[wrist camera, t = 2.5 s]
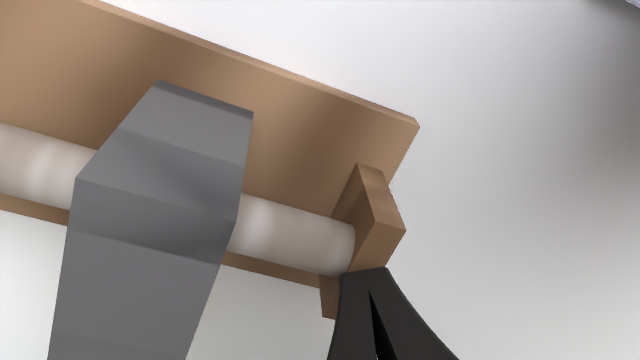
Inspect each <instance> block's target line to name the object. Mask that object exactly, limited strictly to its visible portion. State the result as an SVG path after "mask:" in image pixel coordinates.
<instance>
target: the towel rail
mask: <svg viewBox="0 0 640 360" xmlns="http://www.w3.org/2000/svg"><path fill="white" fill-rule="evenodd" d="M157 79H159V80H162V81H165V82H168V83H171V84H174V85H177V86H179V87H182V88H185V89H188V90H191V91H194V92H197V93H200V94H203V95H206V96H209V97H212V98H215V99H218V100H220V101H223V102H226V103H229V104H232V105H235V106H238V107H241V108H244V109H247V110H250V111H253V112H254V114H253V120H252V126H251V133H250V139H249V145H248V152H247V158H246V164H245V171H244V177H243V183H242V190H241V196H240V202H239V209H238V215H237V221H236V224H235V227H234V230H233V232H232V235H231V238H230V240H229V243H228V246H227V248H226V251H225V254H224V256H223V259H222V262H221V264H223V265H227V266H231V267H235V268H239V269H243V270H247V271H251V272H255V273H259V274H264V275H268V276H272V277H276V278H280V279H284V280H288V281H292V282H296V283H300V284H304V285H308V286H312V287H316V288H320V297H321V307H322V317H325V318H329V319H334V320H336V316H337V309H338V301H339V276H340V275H341V274H342V273H347V272H353V271H359V270H365V269H372V268H378V267H385V265H386V264H387V262H388V260H389V259H390V257H391V255H392V254H393V252H394V250H395V249H396V247H397V245H398V244H399V242H400V240H401V239H402V237H403V235H404V234H405V232H406V228H405V225H404V223H403V221H402V218H401V216H400V213H399V211H398V208H397V206H396V204H395V201H394V199H393V196H392V194H391V192H390V189H389V187H388V185H389V183H390V181H391V179H392V178H393V176H394V174H395V172H396V170H397V168H398V167H399V165H400V163H401V161H402V159H403V157H404V156H405V154H406V152H407V150H408V148H409V146H410V145H411V143H412V141H413V139H414V137H415V135H416V134H417V132H418V130H419V128H420V126H419V124H418V123H417V121H416V120H415V119H414V118H413V117H410V116H407V115H405V114H402V113H399V112H397V111H394V110H391V109H389V108H386V107H383V106H381V105H378V104H375V103H373V102H370V101H367V100H364V99H362V98H359V97H356V96H354V95H351V94H348V93H346V92H343V91H340V90H338V89H335V88H332V87H330V86H327V85H324V84H322V83H319V82H316V81H314V80H311V79H308V78H306V77H303V76H300V75H297V74H295V73H292V72H289V71H287V70H284V69H281V68H279V67H276V66H273V65H271V64H268V63H265V62H263V61H260V60H257V59H255V58H252V57H249V56H247V55H244V54H241V53H239V52H236V51H233V50H231V49H228V48H225V47H222V46H220V45H217V44H214V43H212V42H209V41H206V40H204V39H201V38H198V37H196V36H193V35H190V34H188V33H185V32H182V31H180V30H177V29H174V28H172V27H169V26H166V25H164V24H161V23H158V22H155V21H153V20H150V19H147V18H145V17H142V16H139V15H137V14H134V13H131V12H129V11H126V10H123V9H121V8H118V7H115V6H113V5H110V4H107V3H105V2H102V1H99V0H0V210H4V211H8V212H12V213H16V214H21V215H25V216H29V217H33V218H37V219H41V220H45V221H49V222H53V223H57V224H61V225H65V226H68V221H69V215H70V208H71V202H72V195H73V189H74V182H75V177H76V176H77V175H78V174H79V172H80V171H81V170H82V169H83V168H84V166H85V165H86V164H87V163H88V162H89V160H90V159H91V158H92V157H93V156H94V155H95V153H96V152H97V151H98V150H99V149H100V147H101V146H102V145H103V144H104V143H105V141H106V140H107V139H108V138H109V137H110V135H111V134H112V133H113V132H114V131H115V129H116V128H117V127H118V126H119V125H120V123H121V122H122V121H123V120H124V119H125V117H126V116H127V115H128V114H129V113H130V111H131V110H132V109H133V108H134V107H135V105H136V104H137V103H138V102H139V101H140V100H141V98H142V97H143V96H144V95H145V94H146V92H147V91H148V90H149V89H150V88H151V86H152V85H153V84H154V83H155V82H156V80H157Z"/></svg>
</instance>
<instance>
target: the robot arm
mask: <svg viewBox="0 0 640 360" xmlns="http://www.w3.org/2000/svg"><path fill="white" fill-rule="evenodd" d="M625 1H627V2H629V3H631V4H633V5H635V6H637V7H639V8H640V0H625ZM376 354H377V356H376ZM377 358H378V360H459V359H458V358H457V357H456V356H455V355H454V354H453V353H452V352H451V351H450V350H449V349H448V348H447V347H446V345H445V344H444V343H443V342H442V341H441V340H440V339H439V338H438V337H437V336H436V334H435V333H434V332H433V331H432V330H431V329H430V327H429V326H428V325H427V324H426V323H425V321H424V320H423V319H422V318H421V316H420V315H419V314H418V313H417V311H416V310H415V309H414V308H413V306H412V305H411V304H410V302H409V301H408V300H407V298H406V297H405V295H404V294H403V293H402V291H401V290H400V288H399V287H398V285H397V284H396V282H395V280H394V279H393V277H392V275H391V273H390V272H389V270H388V269H387V268H386V267H378V268H372V269H365V270H359V271H353V272H347V273H342V274H341V275H340V276H339V301H338V309H337V316H336V321H335V327H334V332H333V337H332V341H331V345H330V349H329V352H328V356H327V360H377Z"/></svg>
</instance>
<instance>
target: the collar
mask: <svg viewBox="0 0 640 360" xmlns="http://www.w3.org/2000/svg"><path fill="white" fill-rule="evenodd" d="M253 114H254V112H253V111H250V110H247V109H244V108H241V107H238V106H235V105H232V104H229V103H226V102H223V101H220V100H218V99H215V98H212V97H209V96H206V95H203V94H200V93H197V92H194V91H191V90H188V89H185V88H182V87H179V86H177V85H174V84H171V83H168V82H165V81H162V80H159V79H157V80H156V82H155V83H154V84H153V85H152V86H151V88H150V89H149V90H148V91H147V92H146V94H145V95H144V96H143V97H142V98H141V100H140V101H139V102H138V103H137V104H136V105H135V107H134V108H133V109H132V110H131V111H130V113H129V114H128V115H127V116H126V117H125V119H124V120H123V121H122V122H121V123H120V125H119V126H118V127H117V128H116V129H115V131H114V132H113V133H112V134H111V135H110V137H109V138H108V139H107V140H106V141H105V143H104V144H103V145H102V146H101V147H100V149H99V150H98V151H97V152H96V153H95V155H94V156H93V157H92V158H91V159H90V160H89V162H88V163H87V164H86V165H85V166H84V168H83V169H82V170H81V171H80V172H79V174H78V175H77V176H76V177H75V182H74V189H73V195H72V202H71V208H70V215H69V221H68V228H67V234H66V241H65V247H64V254H63V260H62V267H61V273H60V280H59V286H58V293H57V299H56V306H55V312H54V319H53V325H52V332H51V338H50V345H49V351H48V358H47V360H185V358H186V356H187V353H188V350H189V348H190V345H191V342H192V340H193V337H194V334H195V332H196V329H197V326H198V324H199V321H200V318H201V315H202V313H203V310H204V307H205V305H206V302H207V299H208V297H209V294H210V291H211V289H212V286H213V283H214V281H215V278H216V275H217V273H218V270H219V267H220V264H221V262H222V259H223V256H224V254H225V251H226V248H227V246H228V243H229V240H230V238H231V235H232V232H233V230H234V227H235V224H236V221H237V215H238V209H239V202H240V196H241V190H242V183H243V177H244V171H245V164H246V158H247V152H248V145H249V139H250V133H251V126H252V120H253Z"/></svg>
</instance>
